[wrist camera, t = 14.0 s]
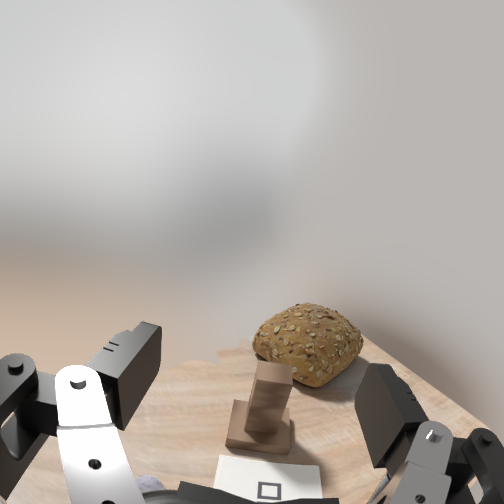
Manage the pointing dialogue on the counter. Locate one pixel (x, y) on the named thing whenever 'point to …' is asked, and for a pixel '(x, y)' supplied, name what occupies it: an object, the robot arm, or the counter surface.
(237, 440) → the walnut stamp
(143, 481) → the stone block
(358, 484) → the counter surface
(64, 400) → the robot arm
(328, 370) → the bread
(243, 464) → the tile
